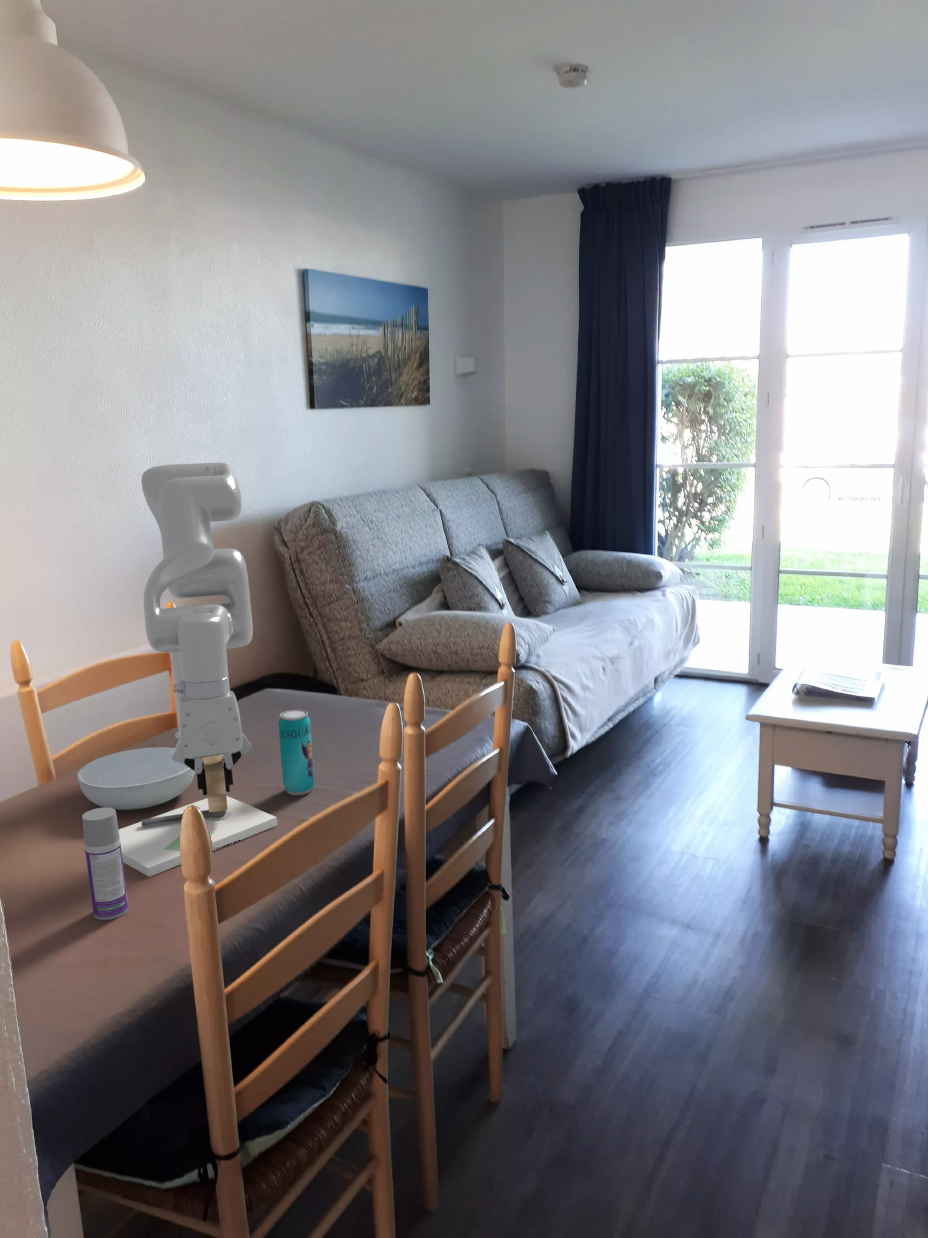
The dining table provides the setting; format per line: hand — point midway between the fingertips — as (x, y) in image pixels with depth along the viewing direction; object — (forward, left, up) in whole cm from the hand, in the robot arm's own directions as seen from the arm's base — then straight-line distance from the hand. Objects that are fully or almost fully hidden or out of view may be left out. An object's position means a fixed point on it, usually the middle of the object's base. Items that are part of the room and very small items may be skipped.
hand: (216, 790), depth 165 cm
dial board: (0, -6, -6) cm, 9 cm away
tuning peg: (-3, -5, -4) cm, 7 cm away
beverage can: (-1, +18, -6) cm, 19 cm away
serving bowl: (-21, -3, -7) cm, 22 cm away
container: (+14, -27, -6) cm, 31 cm away
